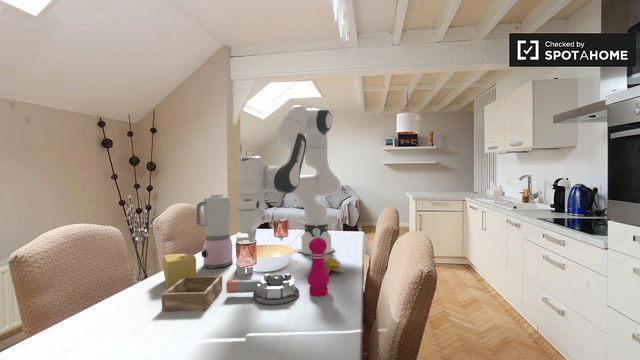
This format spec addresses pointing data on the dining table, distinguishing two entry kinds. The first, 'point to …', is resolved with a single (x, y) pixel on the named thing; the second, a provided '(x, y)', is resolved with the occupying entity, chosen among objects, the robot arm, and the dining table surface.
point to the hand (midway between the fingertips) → (252, 241)
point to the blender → (216, 230)
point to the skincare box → (239, 269)
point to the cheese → (178, 267)
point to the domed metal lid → (276, 281)
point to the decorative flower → (331, 264)
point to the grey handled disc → (263, 287)
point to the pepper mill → (318, 267)
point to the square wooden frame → (192, 293)
